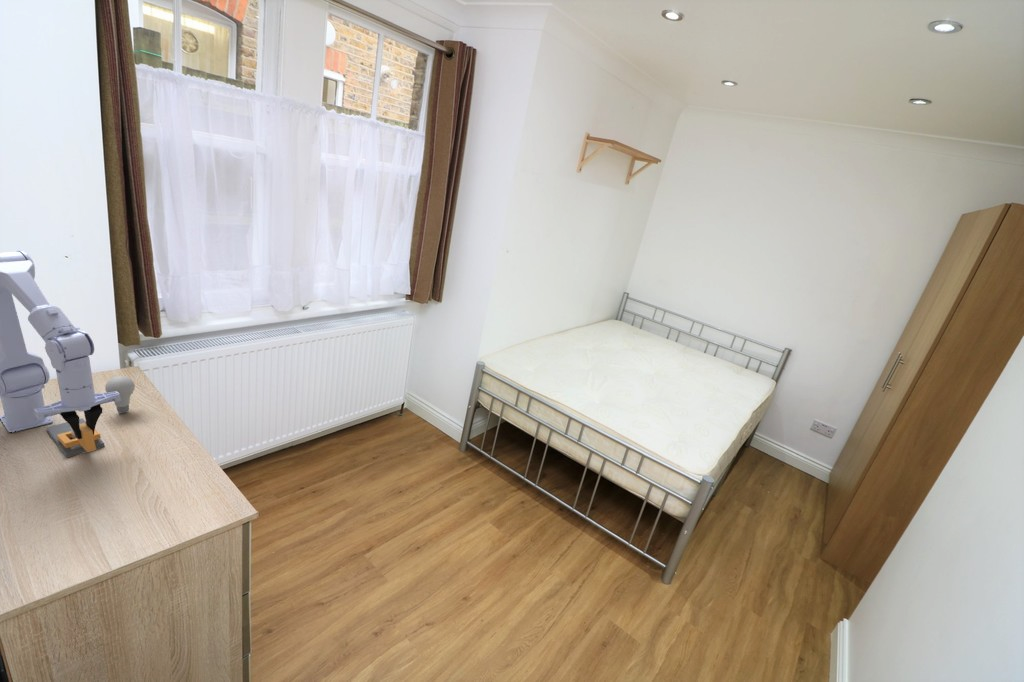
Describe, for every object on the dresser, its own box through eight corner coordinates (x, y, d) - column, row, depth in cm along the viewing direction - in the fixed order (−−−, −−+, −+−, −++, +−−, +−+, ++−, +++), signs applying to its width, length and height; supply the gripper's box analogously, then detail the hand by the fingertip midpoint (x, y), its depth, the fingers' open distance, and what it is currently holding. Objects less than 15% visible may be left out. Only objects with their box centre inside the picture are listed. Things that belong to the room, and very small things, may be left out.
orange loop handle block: (57, 439, 113) (53, 420, 112) (91, 430, 118) (88, 412, 117) (73, 456, 107) (69, 436, 106) (109, 445, 112) (105, 426, 111)
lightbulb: (141, 413, 130) (137, 378, 127) (114, 420, 125) (109, 384, 122) (131, 405, 133) (127, 370, 130) (105, 412, 128) (99, 375, 124)
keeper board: (46, 430, 117) (43, 411, 116) (83, 421, 123) (80, 403, 121) (66, 457, 110) (63, 437, 108) (104, 446, 116) (101, 427, 114)
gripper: (37, 400, 98) (48, 454, 103) (122, 382, 110) (129, 432, 114) (27, 387, 102) (38, 441, 106) (111, 371, 113) (117, 420, 118)
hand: (84, 435), depth 111 cm, fingers closed on orange loop handle block
